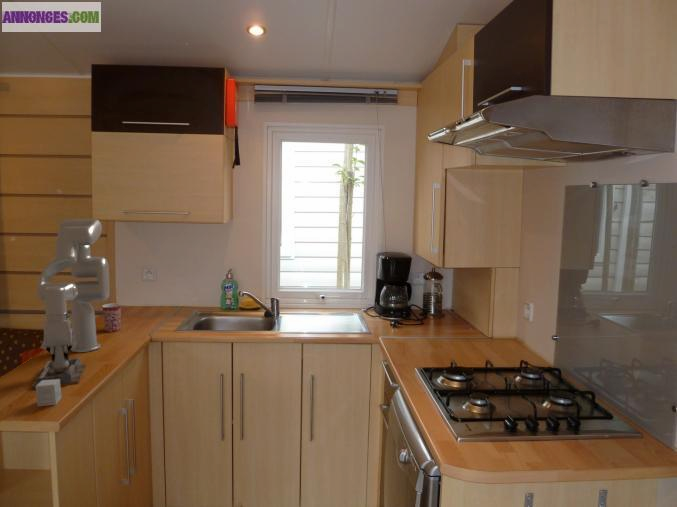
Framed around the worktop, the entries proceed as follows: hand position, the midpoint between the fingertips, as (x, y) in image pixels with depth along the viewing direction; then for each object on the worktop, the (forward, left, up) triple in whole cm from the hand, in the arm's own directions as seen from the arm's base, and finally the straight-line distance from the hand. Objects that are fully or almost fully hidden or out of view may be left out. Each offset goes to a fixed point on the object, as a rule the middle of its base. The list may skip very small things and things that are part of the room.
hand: (60, 361), depth 217 cm
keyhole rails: (+3, 0, -5) cm, 6 cm away
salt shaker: (0, 0, -4) cm, 4 cm away
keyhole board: (+3, 0, -5) cm, 6 cm away
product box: (+31, +1, -5) cm, 31 cm away
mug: (-66, +15, -5) cm, 68 cm away
